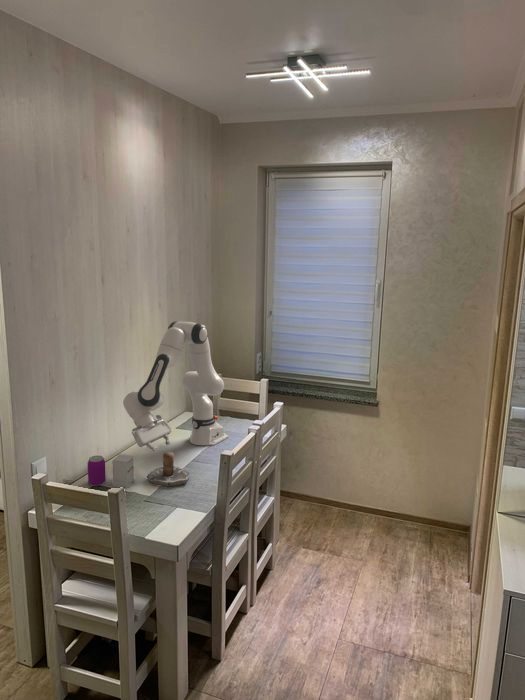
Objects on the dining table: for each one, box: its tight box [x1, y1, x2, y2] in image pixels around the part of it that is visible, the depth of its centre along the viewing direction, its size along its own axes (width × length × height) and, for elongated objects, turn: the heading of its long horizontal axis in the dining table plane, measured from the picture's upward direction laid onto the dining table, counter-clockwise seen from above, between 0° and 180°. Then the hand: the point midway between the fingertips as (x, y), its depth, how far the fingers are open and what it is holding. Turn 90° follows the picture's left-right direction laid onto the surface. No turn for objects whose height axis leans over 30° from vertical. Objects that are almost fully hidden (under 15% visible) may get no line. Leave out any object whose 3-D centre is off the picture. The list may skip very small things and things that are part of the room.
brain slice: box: [146, 465, 190, 487], centre depth 239 cm, size 20×17×3 cm
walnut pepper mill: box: [162, 451, 175, 476], centre depth 237 cm, size 5×5×10 cm
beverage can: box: [87, 455, 107, 487], centre depth 232 cm, size 8×8×12 cm
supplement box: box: [111, 453, 135, 489], centre depth 232 cm, size 7×7×13 cm
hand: (162, 447), depth 238 cm, fingers open, 8 cm apart
